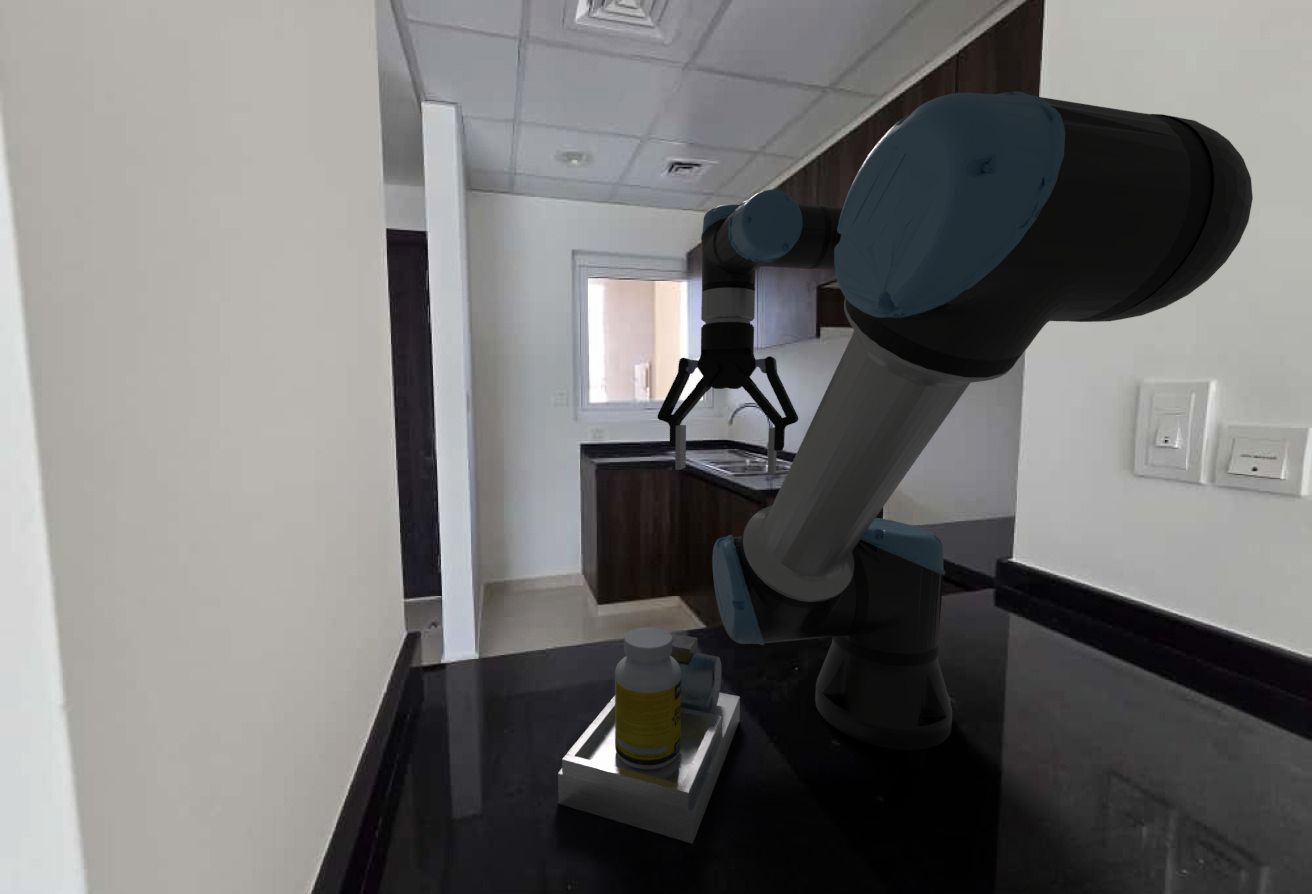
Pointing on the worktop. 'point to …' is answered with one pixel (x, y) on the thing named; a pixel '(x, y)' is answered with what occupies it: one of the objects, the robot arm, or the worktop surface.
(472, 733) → the worktop surface
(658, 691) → the pill bottle
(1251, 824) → the worktop surface
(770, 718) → the worktop surface
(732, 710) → the motor base
